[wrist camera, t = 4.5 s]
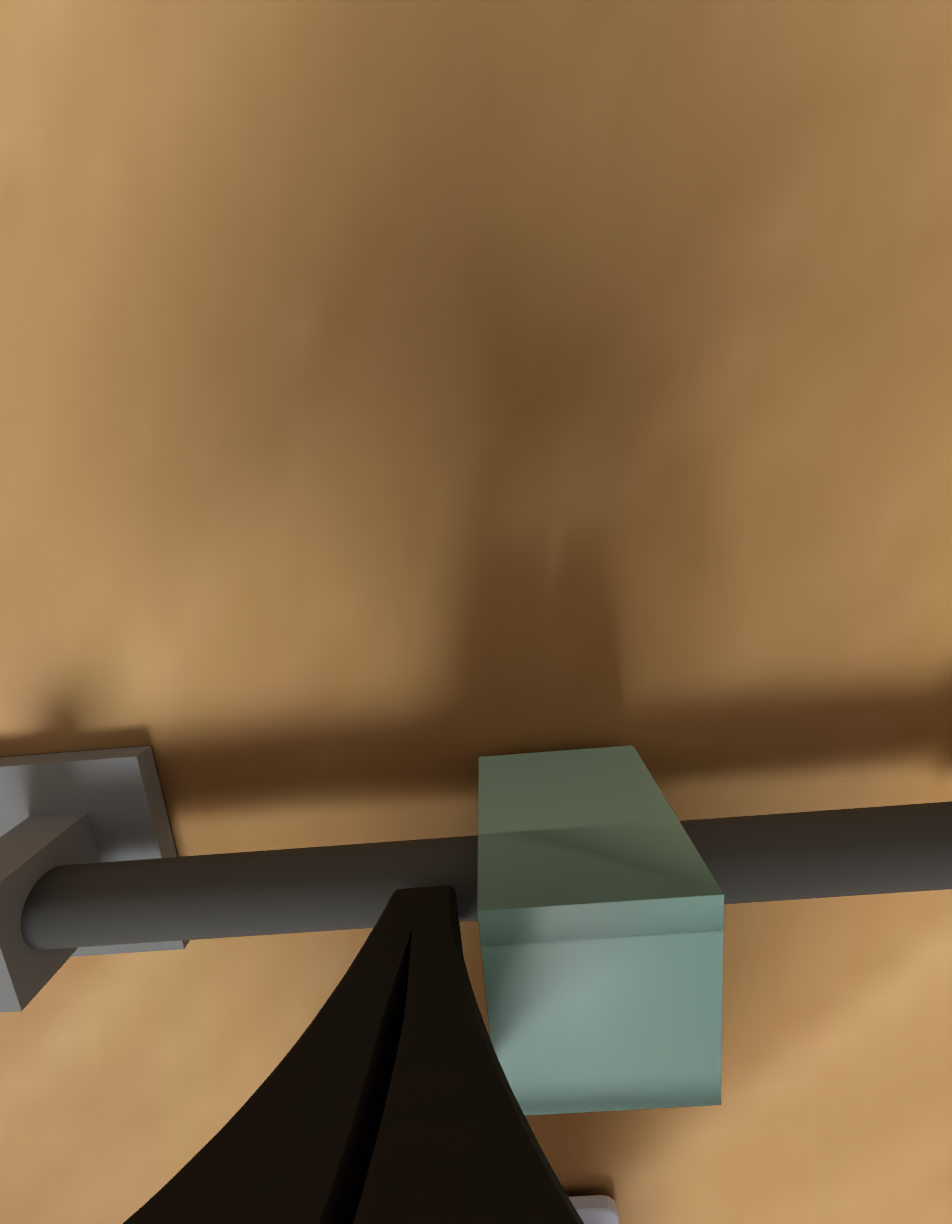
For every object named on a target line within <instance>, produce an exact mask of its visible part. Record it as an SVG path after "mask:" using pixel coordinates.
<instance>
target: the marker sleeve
mask: <svg viewBox="0 0 952 1224" xmlns="http://www.w3.org/2000/svg"><path fill="white" fill-rule="evenodd" d="M477 913H478V923H479V933H480V943H481V952H482V962H483V972H484V982H485V991H486V1001H487V1011H488V1020H489V1030H490V1040H491V1042H492V1045H493V1047H494V1050H495V1052H496V1055H497V1057H498V1060H499V1062H500V1064H501V1066H502V1069H503V1071H504V1073H505V1076H506V1078H507V1080H508V1082H509V1085H510V1087H511V1089H512V1091H513V1093H514V1095H515V1097H516V1099H517V1101H518V1103H519V1105H520V1107H521V1109H522V1111H523V1113H524V1115H525V1116H529V1115H547V1114H565V1113H583V1112H600V1111H618V1110H636V1109H654V1108H672V1107H690V1106H708V1105H721V1056H722V992H723V929H724V894H723V892H722V890H721V889H720V887H719V885H718V884H717V882H716V881H715V879H714V877H713V876H712V874H711V872H710V871H709V869H708V867H707V866H706V864H705V862H704V861H703V859H702V858H701V856H700V854H699V853H698V851H697V849H696V848H695V846H694V844H693V843H692V841H691V839H690V838H689V836H688V835H687V833H686V831H685V830H684V828H683V826H682V825H681V823H680V821H679V820H678V818H677V816H676V815H675V813H674V812H673V810H672V808H671V807H670V805H669V803H668V802H667V800H666V798H665V797H664V795H663V793H662V792H661V790H660V789H659V787H658V785H657V784H656V782H655V780H654V779H653V777H652V775H651V774H650V772H649V770H648V769H647V767H646V766H645V764H644V762H643V761H642V759H641V757H640V756H639V754H638V752H637V751H636V749H635V748H634V746H633V745H629V746H615V747H602V748H589V749H576V750H563V751H550V752H536V753H523V754H510V755H497V756H484V757H479V789H478V889H477Z"/></svg>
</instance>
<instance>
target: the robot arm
mask: <svg viewBox="0 0 952 1224" xmlns="http://www.w3.org/2000/svg"><path fill="white" fill-rule="evenodd" d="M123 1224H619V1217H618V1212H617V1206H616V1203H615V1201H614V1200H613V1199H612V1198H610V1197H608V1196H606V1195H590V1196H570V1197H568V1196H567V1194H566V1192H565V1190H564V1189H563V1187H562V1185H561V1184H560V1182H559V1180H558V1178H557V1176H556V1175H555V1173H554V1171H553V1169H552V1167H551V1166H550V1164H549V1162H548V1160H547V1158H546V1156H545V1155H544V1153H543V1151H542V1149H541V1147H540V1145H539V1144H538V1142H537V1140H536V1138H535V1136H534V1134H533V1132H532V1130H531V1128H530V1126H529V1123H528V1121H527V1119H526V1117H525V1115H524V1113H523V1111H522V1109H521V1107H520V1105H519V1103H518V1101H517V1099H516V1097H515V1095H514V1093H513V1091H512V1089H511V1087H510V1085H509V1082H508V1080H507V1078H506V1076H505V1073H504V1071H503V1069H502V1066H501V1064H500V1062H499V1060H498V1057H497V1055H496V1052H495V1050H494V1047H493V1045H492V1042H491V1040H490V1038H489V1035H488V1032H487V1030H486V1027H485V1024H484V1022H483V1019H482V1016H481V1013H480V1011H479V1008H478V1005H477V1002H476V999H475V996H474V993H473V990H472V986H471V983H470V980H469V976H468V973H467V969H466V965H465V961H464V958H463V950H462V941H461V933H460V924H459V916H458V907H457V899H456V890H455V889H454V888H453V887H451V886H450V885H447V886H433V887H420V888H406V889H396V891H395V892H394V893H393V894H392V895H391V897H390V899H389V901H388V903H387V905H386V907H385V909H384V910H383V912H382V914H381V916H380V918H379V919H378V921H377V923H376V925H375V926H374V928H373V930H372V932H371V933H370V935H369V937H368V938H367V940H366V942H365V943H364V945H363V947H362V948H361V950H360V951H359V953H358V955H357V956H356V958H355V959H354V961H353V963H352V964H351V966H350V967H349V969H348V971H347V972H346V974H345V975H344V977H343V978H342V980H341V981H340V983H339V984H338V986H337V987H336V989H335V990H334V991H333V993H332V994H331V996H330V997H329V999H328V1000H327V1001H326V1003H325V1004H324V1006H323V1007H322V1009H321V1010H320V1011H319V1013H318V1014H317V1016H316V1017H315V1019H314V1020H313V1021H312V1023H311V1024H310V1025H309V1027H308V1028H307V1029H306V1031H305V1032H304V1033H303V1035H302V1036H301V1037H300V1038H299V1040H298V1041H297V1042H296V1044H295V1045H294V1046H293V1047H292V1049H291V1050H290V1051H289V1052H288V1054H287V1055H286V1056H285V1057H284V1059H283V1060H282V1061H281V1062H280V1063H279V1065H278V1066H277V1067H276V1068H275V1070H274V1071H273V1072H272V1073H271V1074H270V1075H269V1077H268V1078H267V1079H266V1080H265V1081H264V1082H263V1083H262V1085H261V1086H260V1087H259V1088H258V1089H257V1090H256V1091H255V1093H254V1094H253V1095H252V1096H251V1097H250V1098H249V1099H248V1101H247V1102H246V1103H245V1104H244V1105H243V1106H242V1107H241V1109H240V1110H239V1111H238V1112H237V1113H236V1114H235V1115H234V1116H233V1117H232V1118H231V1119H230V1121H229V1122H228V1123H227V1124H226V1125H225V1126H224V1127H223V1128H222V1129H221V1130H220V1131H219V1132H218V1133H217V1134H216V1135H215V1136H214V1137H213V1138H212V1139H211V1140H210V1141H209V1142H208V1143H207V1144H206V1145H205V1146H204V1147H203V1148H202V1149H201V1150H200V1151H199V1152H198V1153H197V1154H196V1155H195V1156H194V1157H193V1158H192V1159H191V1160H190V1161H189V1162H188V1163H187V1164H186V1165H185V1166H184V1167H183V1168H182V1169H181V1170H180V1171H179V1172H178V1173H177V1174H176V1175H175V1176H174V1177H173V1178H172V1179H171V1180H170V1181H169V1182H168V1183H167V1184H166V1185H165V1186H164V1187H163V1188H162V1189H161V1190H160V1191H159V1192H158V1193H156V1194H155V1195H154V1196H153V1197H152V1198H151V1199H150V1200H149V1201H148V1202H147V1203H146V1204H145V1205H143V1206H142V1207H141V1208H140V1209H139V1210H138V1211H137V1212H135V1213H134V1214H133V1215H132V1216H131V1217H130V1218H129V1219H127V1220H126V1221H125V1222H124V1223H123Z"/></svg>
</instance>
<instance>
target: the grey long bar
mask: <svg viewBox="0 0 952 1224" xmlns="http://www.w3.org/2000/svg"><path fill="white" fill-rule="evenodd" d="M680 823H681V825H682V826H683V828H684V830H685V831H686V833H687V835H688V836H689V838H690V839H691V841H692V843H693V844H694V846H695V848H696V849H697V851H698V853H699V854H700V856H701V858H702V859H703V861H704V862H705V864H706V866H707V867H708V869H709V871H710V872H711V874H712V876H713V877H714V879H715V881H716V882H717V884H718V885H719V887H720V889H721V890H722V892H723V894H724V904H734V903H749V902H764V901H779V900H794V899H809V898H824V897H838V896H853V895H868V894H883V893H898V892H913V891H928V890H943V889H952V802H939V803H925V804H911V805H897V806H883V807H869V808H855V809H841V810H827V811H813V812H799V813H785V814H771V815H757V816H743V817H729V818H715V819H701V820H688V821H680ZM447 885H450V886H451V887H453V888H454V889H455V890H456V899H457V907H458V916H459V922H465V921H478V913H477V889H478V836H464V837H450V838H436V839H422V840H408V841H394V842H380V843H366V844H352V845H338V846H324V847H310V848H296V849H282V850H268V851H255V852H241V853H227V854H213V855H199V856H185V857H177V853H176V849H175V845H174V840H173V836H172V832H171V828H170V824H169V820H168V815H167V811H166V807H165V803H164V799H163V795H162V790H161V786H160V782H159V778H158V774H157V770H156V766H155V761H154V757H153V753H152V749H151V746H141V747H128V748H115V749H102V750H89V751H77V752H64V753H51V754H38V755H25V756H12V757H0V1012H14V1011H22V1010H23V1009H24V1008H25V1007H26V1006H27V1005H28V1003H29V1002H30V1001H31V1000H32V999H33V998H34V997H35V996H36V994H37V993H38V992H39V991H40V990H41V989H42V988H43V987H44V985H45V984H46V983H47V982H48V981H49V980H50V979H51V978H52V977H53V975H54V974H55V973H56V972H57V971H58V970H59V969H60V968H61V966H62V965H63V964H64V963H65V962H66V961H67V960H68V959H69V957H71V956H86V955H101V954H116V953H131V952H146V951H161V950H176V949H185V947H186V946H187V944H188V943H189V941H190V940H196V939H211V938H226V937H241V936H256V935H271V934H285V933H300V932H315V931H330V930H345V929H360V928H374V926H375V925H376V923H377V921H378V919H379V918H380V916H381V914H382V912H383V910H384V909H385V907H386V905H387V903H388V901H389V899H390V897H391V895H392V894H393V893H394V892H395V891H396V889H406V888H420V887H433V886H447Z"/></svg>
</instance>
